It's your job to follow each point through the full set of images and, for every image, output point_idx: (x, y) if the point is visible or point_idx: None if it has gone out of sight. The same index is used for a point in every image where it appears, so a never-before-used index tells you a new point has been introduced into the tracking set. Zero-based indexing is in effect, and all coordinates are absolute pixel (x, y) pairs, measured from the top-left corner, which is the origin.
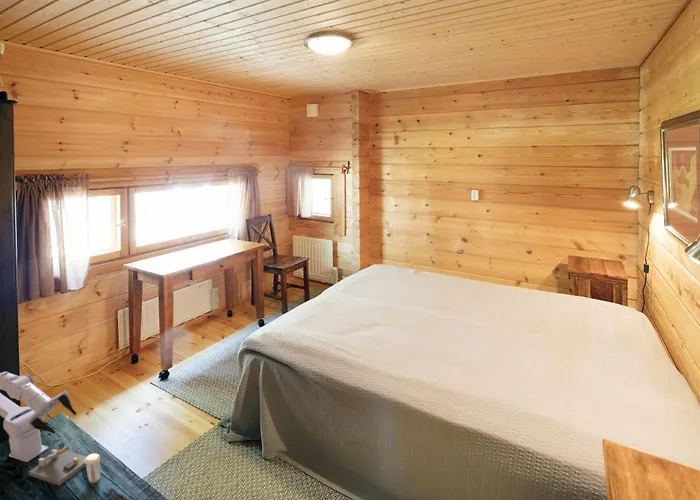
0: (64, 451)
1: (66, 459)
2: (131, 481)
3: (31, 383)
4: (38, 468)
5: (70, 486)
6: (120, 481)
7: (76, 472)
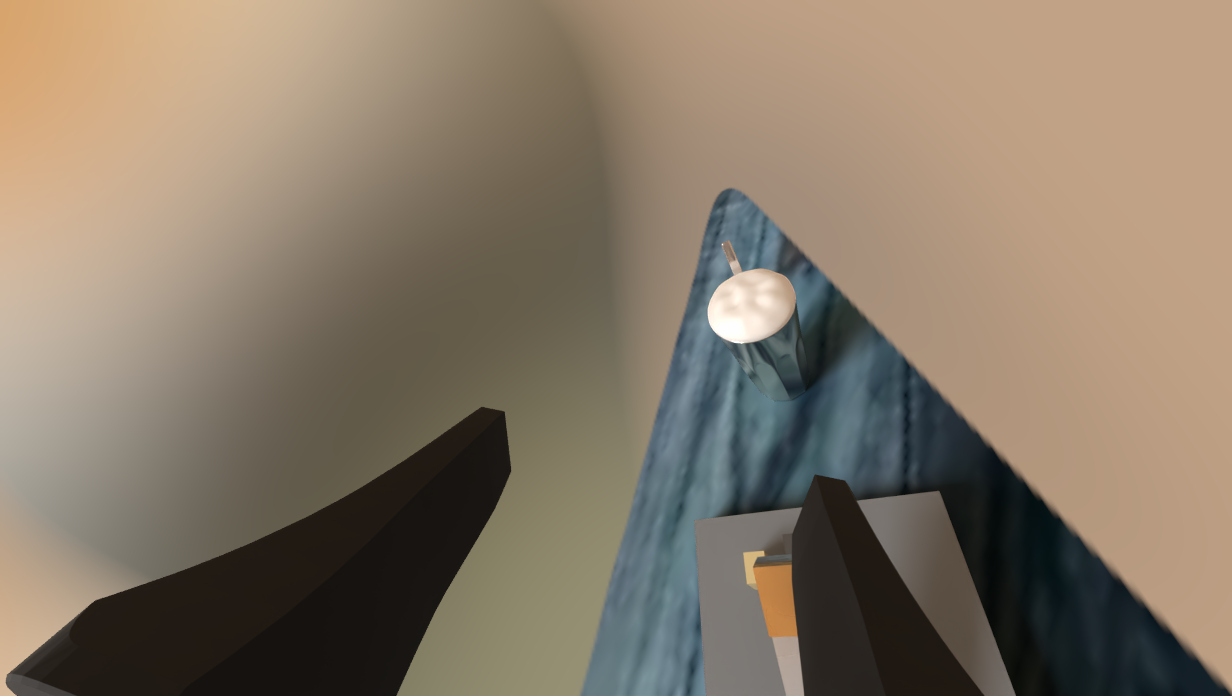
0: None
1: (780, 682)
2: (714, 262)
3: None
4: None
5: (892, 435)
6: None
7: None
